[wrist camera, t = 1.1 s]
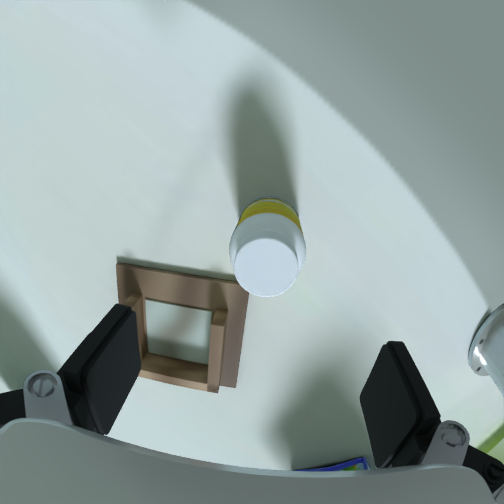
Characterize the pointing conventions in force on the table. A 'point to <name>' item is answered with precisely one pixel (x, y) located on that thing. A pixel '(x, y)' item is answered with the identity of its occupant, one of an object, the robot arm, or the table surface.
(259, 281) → the supplement bottle
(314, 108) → the table surface
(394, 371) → the robot arm
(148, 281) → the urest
